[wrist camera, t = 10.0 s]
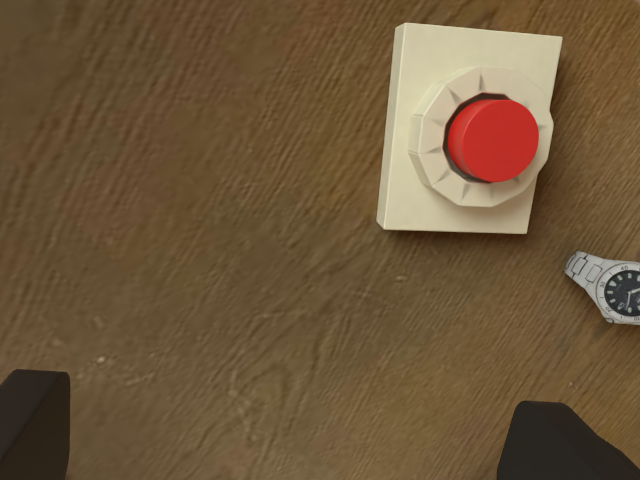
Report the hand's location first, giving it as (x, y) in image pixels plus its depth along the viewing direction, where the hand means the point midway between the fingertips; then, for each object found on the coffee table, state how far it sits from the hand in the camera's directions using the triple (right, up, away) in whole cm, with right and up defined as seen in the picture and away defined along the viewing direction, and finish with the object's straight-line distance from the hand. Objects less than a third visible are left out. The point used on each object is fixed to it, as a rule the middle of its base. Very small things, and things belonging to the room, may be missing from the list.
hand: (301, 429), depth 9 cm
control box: (+8, +9, +18) cm, 21 cm away
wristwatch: (+17, +1, +21) cm, 27 cm away
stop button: (+8, +8, +15) cm, 19 cm away
